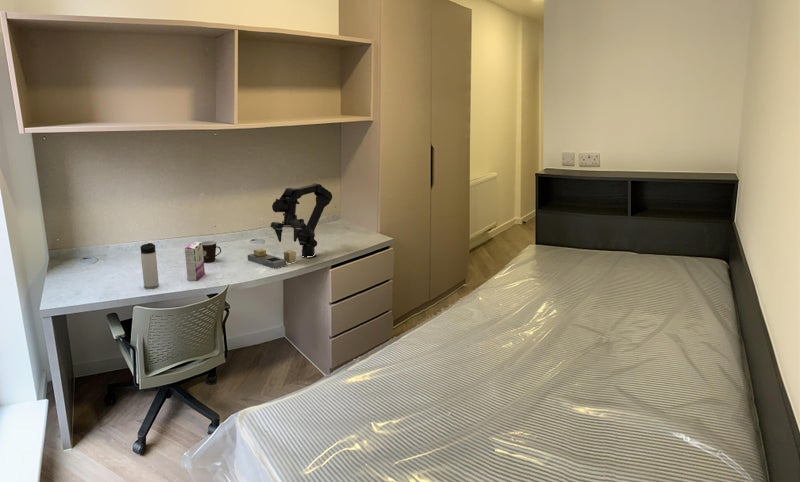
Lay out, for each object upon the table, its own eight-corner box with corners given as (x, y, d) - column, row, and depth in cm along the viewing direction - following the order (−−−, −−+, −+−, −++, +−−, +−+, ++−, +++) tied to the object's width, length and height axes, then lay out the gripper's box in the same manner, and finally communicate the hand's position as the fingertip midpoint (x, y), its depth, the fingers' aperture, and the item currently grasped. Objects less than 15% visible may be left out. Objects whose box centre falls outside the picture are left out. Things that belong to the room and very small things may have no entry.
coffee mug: (197, 260, 308) (196, 242, 306) (212, 257, 314) (211, 239, 312) (208, 265, 300) (206, 247, 298) (223, 262, 306) (222, 244, 304)
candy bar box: (195, 273, 288) (192, 241, 284) (205, 273, 288) (202, 241, 284) (186, 280, 277) (184, 247, 273) (197, 281, 277) (194, 248, 273)
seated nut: (261, 259, 314) (260, 248, 312) (266, 260, 311) (265, 250, 310) (254, 260, 311) (253, 250, 309) (259, 262, 308) (259, 251, 306)
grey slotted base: (260, 257, 317) (259, 251, 317) (286, 265, 304) (286, 260, 303) (247, 260, 311) (247, 254, 311) (274, 269, 298) (274, 263, 297)
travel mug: (161, 284, 272) (157, 242, 267) (155, 289, 266) (152, 246, 261) (147, 284, 272) (143, 242, 267) (141, 288, 266) (137, 246, 260)
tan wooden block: (290, 260, 313) (290, 250, 311) (296, 262, 310) (295, 251, 308) (284, 262, 309) (283, 251, 308) (289, 264, 307) (289, 253, 305)
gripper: (283, 214, 291) (280, 244, 293) (313, 214, 304) (310, 244, 306) (271, 211, 299) (268, 240, 301) (301, 211, 312) (298, 240, 314)
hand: (287, 241), depth 305 cm, fingers open, 9 cm apart
